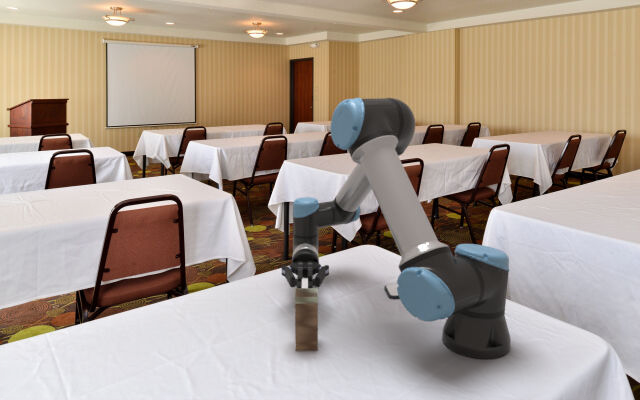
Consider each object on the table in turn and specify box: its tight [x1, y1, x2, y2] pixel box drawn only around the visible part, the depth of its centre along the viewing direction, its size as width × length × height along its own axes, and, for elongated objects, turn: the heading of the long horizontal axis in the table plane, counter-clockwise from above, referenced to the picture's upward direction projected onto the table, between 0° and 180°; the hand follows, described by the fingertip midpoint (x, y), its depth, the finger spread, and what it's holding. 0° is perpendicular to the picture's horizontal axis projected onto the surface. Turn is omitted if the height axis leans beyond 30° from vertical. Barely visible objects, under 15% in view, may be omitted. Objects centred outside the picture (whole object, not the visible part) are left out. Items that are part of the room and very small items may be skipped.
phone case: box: [383, 284, 400, 300], centre depth 145 cm, size 9×2×16 cm
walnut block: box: [294, 287, 319, 352], centre depth 113 cm, size 5×5×13 cm
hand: (304, 294), depth 116 cm, fingers closed
